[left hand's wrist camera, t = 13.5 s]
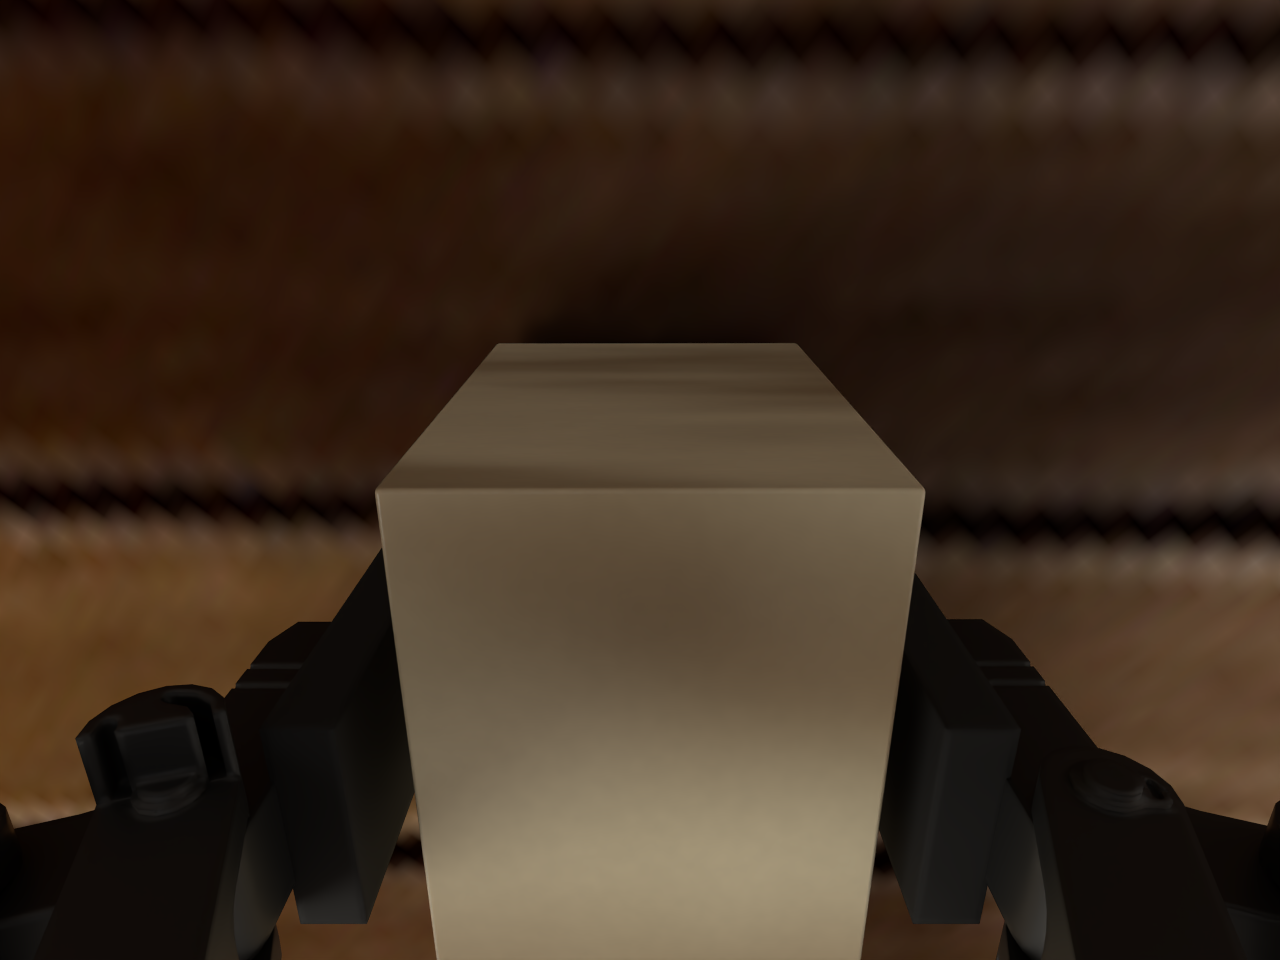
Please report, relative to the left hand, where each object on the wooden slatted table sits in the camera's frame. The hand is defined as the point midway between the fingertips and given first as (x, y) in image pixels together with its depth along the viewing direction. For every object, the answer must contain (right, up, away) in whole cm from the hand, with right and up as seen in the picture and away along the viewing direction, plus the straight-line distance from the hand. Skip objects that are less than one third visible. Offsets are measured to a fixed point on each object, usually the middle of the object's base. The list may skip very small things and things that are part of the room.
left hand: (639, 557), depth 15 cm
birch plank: (0, -13, +5) cm, 14 cm away
